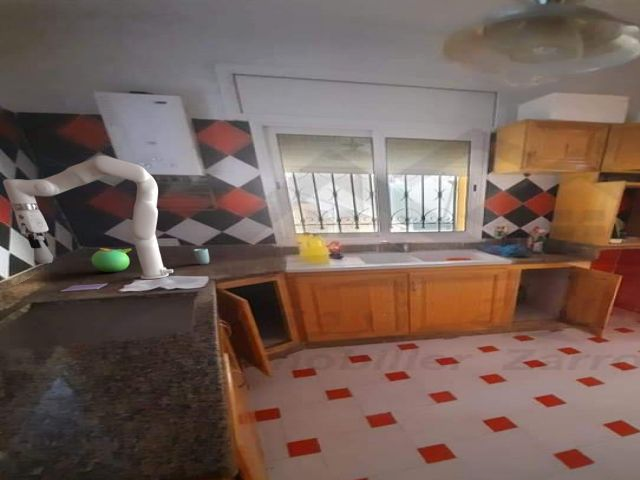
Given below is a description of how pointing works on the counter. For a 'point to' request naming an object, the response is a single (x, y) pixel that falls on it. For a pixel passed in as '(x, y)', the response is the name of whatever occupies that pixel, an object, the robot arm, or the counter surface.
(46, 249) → the salt shaker
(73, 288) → the dish towel
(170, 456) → the counter surface
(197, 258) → the cup
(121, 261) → the green round piece
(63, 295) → the counter surface
